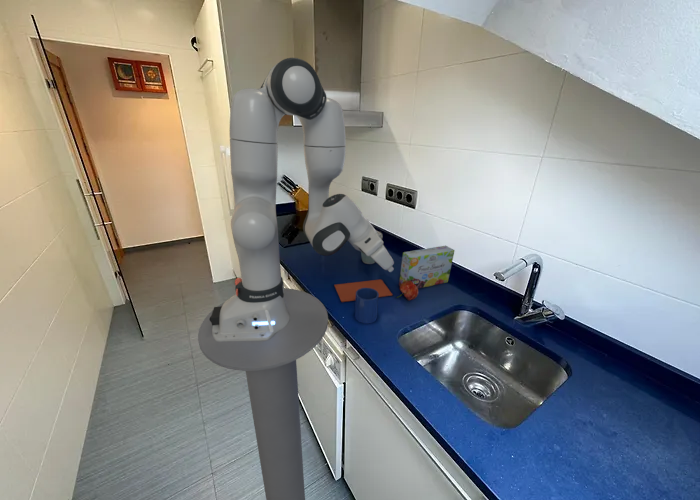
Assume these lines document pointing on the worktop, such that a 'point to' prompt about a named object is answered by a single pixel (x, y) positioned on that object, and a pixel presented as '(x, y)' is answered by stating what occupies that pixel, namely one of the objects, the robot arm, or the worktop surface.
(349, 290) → the red mat
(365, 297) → the blue cup
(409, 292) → the pomegranate
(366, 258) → the disposable coffee cup
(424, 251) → the snack box
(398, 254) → the worktop surface
